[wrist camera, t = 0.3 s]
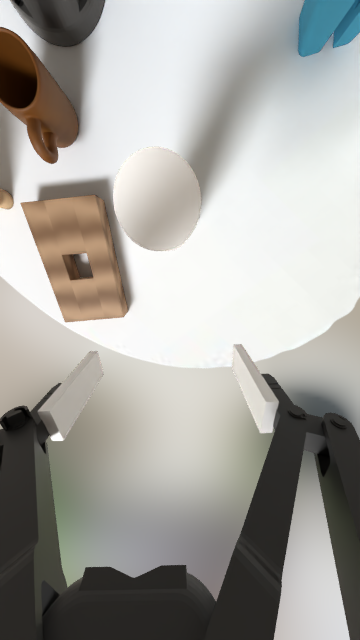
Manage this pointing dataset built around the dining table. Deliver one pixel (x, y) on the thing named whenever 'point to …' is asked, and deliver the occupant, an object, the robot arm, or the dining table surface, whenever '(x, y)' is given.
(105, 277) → the seat board
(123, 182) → the cylindrical container
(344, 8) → the block
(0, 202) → the oak peg
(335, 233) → the dining table surface
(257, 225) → the dining table surface
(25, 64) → the mug
